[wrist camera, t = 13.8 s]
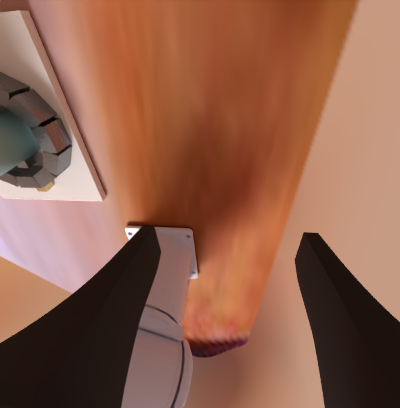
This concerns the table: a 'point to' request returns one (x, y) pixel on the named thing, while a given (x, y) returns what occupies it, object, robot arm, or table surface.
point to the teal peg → (15, 142)
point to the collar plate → (46, 83)
